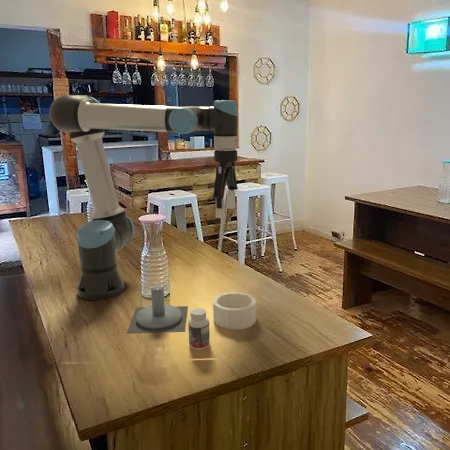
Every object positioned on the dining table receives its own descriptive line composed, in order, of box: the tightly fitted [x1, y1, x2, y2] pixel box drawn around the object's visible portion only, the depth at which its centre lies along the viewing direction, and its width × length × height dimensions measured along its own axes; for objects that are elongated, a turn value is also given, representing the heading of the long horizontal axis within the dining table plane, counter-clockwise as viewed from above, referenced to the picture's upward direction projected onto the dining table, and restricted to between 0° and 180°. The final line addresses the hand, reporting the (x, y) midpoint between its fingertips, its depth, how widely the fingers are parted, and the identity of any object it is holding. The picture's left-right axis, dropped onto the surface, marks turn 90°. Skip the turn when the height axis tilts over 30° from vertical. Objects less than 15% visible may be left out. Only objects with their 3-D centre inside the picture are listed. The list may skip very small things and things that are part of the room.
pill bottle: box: [187, 307, 211, 351], centre depth 117 cm, size 5×5×10 cm
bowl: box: [212, 291, 257, 331], centre depth 131 cm, size 12×12×6 cm
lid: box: [136, 285, 181, 330], centre depth 131 cm, size 13×13×10 cm
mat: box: [126, 305, 189, 334], centre depth 132 cm, size 16×16×1 cm
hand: (225, 213), depth 152 cm, fingers open, 13 cm apart
